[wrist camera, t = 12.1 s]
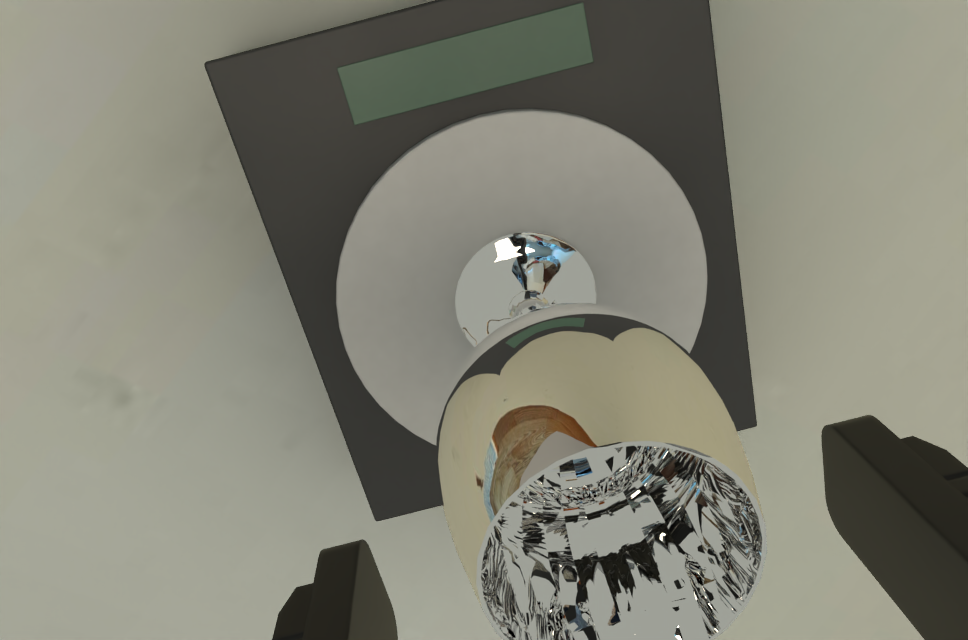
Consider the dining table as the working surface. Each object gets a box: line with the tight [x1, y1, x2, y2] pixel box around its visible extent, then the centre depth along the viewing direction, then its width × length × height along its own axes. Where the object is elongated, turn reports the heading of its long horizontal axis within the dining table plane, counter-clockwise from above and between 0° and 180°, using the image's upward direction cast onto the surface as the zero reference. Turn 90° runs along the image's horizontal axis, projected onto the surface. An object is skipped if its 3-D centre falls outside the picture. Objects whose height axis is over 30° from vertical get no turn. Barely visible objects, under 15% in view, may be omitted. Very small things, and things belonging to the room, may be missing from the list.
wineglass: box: [436, 231, 767, 640], centre depth 17 cm, size 6×6×12 cm
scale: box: [205, 0, 757, 521], centre depth 24 cm, size 16×14×4 cm
